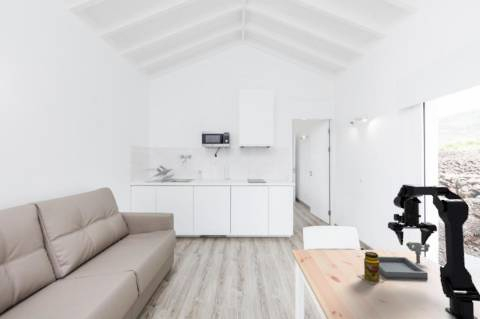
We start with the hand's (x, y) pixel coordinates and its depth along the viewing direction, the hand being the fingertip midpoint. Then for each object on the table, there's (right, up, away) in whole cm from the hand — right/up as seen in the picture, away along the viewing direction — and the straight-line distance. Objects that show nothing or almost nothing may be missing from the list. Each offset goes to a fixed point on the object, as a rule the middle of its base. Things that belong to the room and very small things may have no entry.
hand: (411, 245), depth 114 cm
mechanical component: (+14, -15, +15) cm, 25 cm away
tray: (-3, -15, +7) cm, 17 cm away
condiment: (-20, -15, -1) cm, 25 cm away
